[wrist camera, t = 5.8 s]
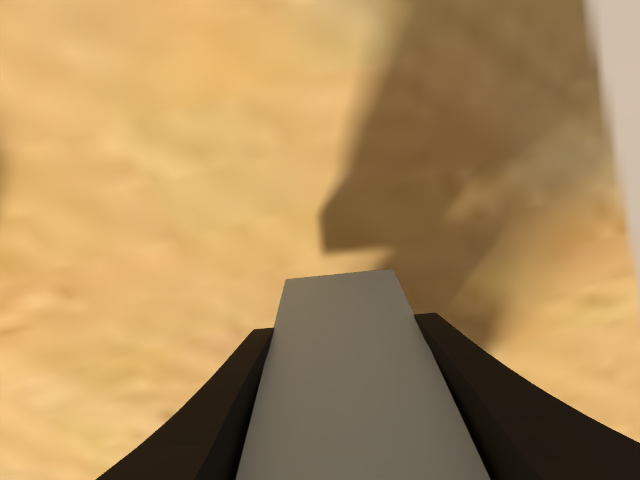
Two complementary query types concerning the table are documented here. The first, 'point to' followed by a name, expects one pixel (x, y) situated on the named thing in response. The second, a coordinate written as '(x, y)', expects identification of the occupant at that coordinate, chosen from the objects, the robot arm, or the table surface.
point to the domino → (353, 390)
